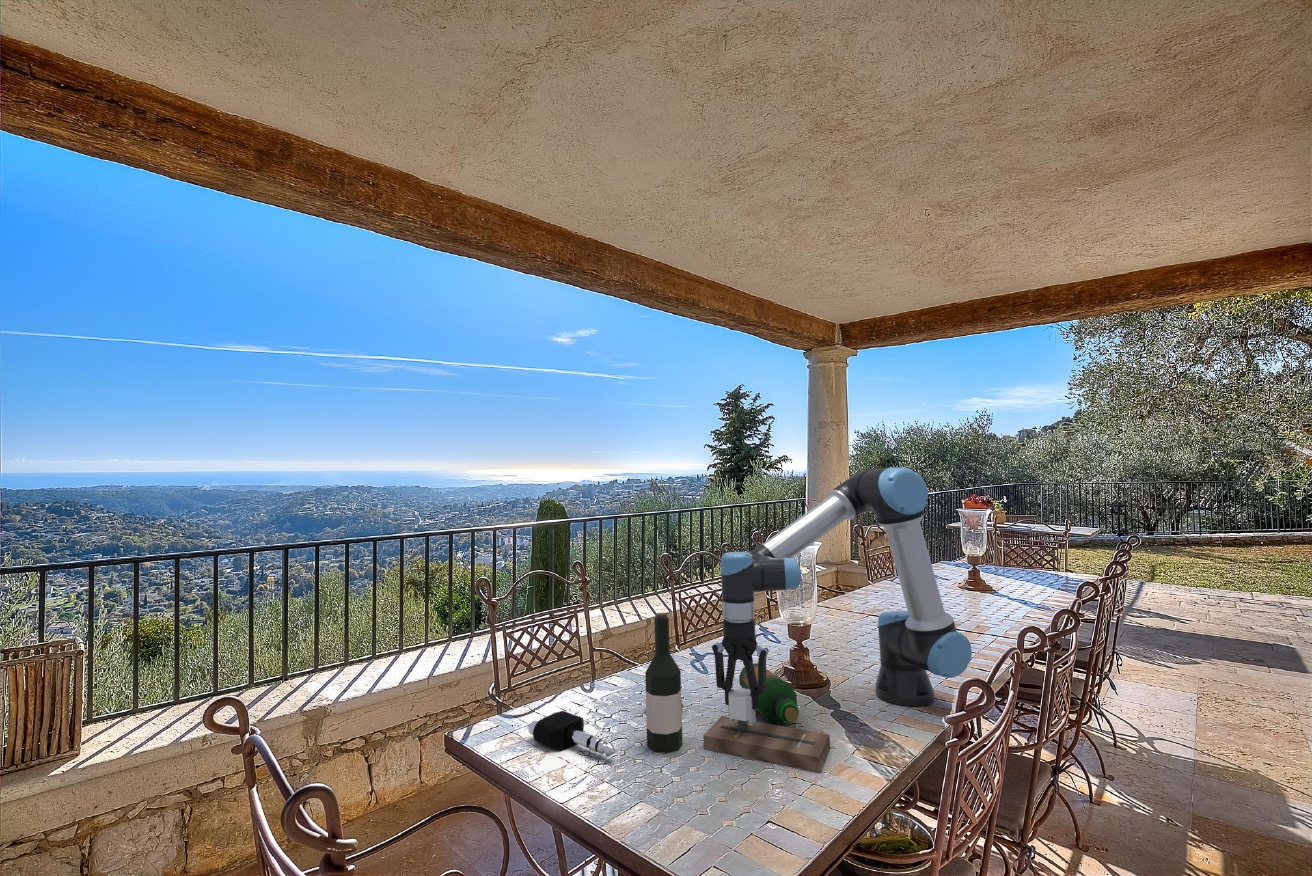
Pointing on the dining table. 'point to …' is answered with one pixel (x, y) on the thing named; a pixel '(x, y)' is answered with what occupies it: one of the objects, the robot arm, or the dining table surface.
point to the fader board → (769, 743)
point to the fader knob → (739, 707)
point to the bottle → (774, 698)
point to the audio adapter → (566, 733)
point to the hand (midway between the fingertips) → (742, 721)
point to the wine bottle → (663, 694)
